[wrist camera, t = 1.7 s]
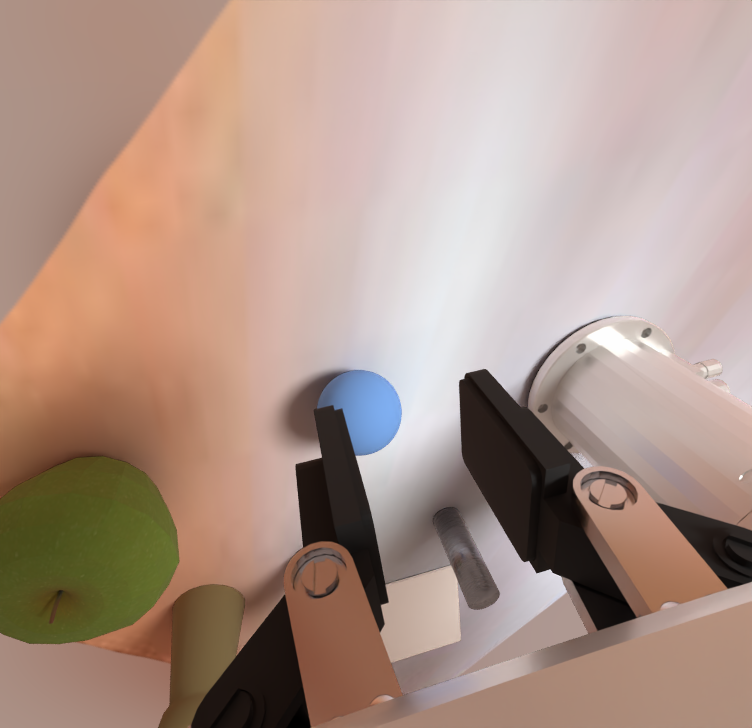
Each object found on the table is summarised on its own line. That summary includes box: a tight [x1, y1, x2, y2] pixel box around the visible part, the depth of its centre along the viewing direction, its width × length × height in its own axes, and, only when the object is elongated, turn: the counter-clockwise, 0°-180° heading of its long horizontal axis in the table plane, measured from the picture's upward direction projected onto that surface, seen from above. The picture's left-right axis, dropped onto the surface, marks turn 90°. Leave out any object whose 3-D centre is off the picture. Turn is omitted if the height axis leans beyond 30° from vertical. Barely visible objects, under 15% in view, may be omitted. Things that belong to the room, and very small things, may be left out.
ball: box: [317, 370, 402, 456], centre depth 29 cm, size 6×6×6 cm
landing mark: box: [380, 565, 461, 663], centre depth 47 cm, size 14×14×1 cm
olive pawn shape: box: [158, 584, 245, 728], centre depth 35 cm, size 6×6×11 cm
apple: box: [0, 456, 179, 644], centre depth 27 cm, size 11×10×10 cm
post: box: [433, 508, 500, 610], centre depth 37 cm, size 3×3×8 cm
